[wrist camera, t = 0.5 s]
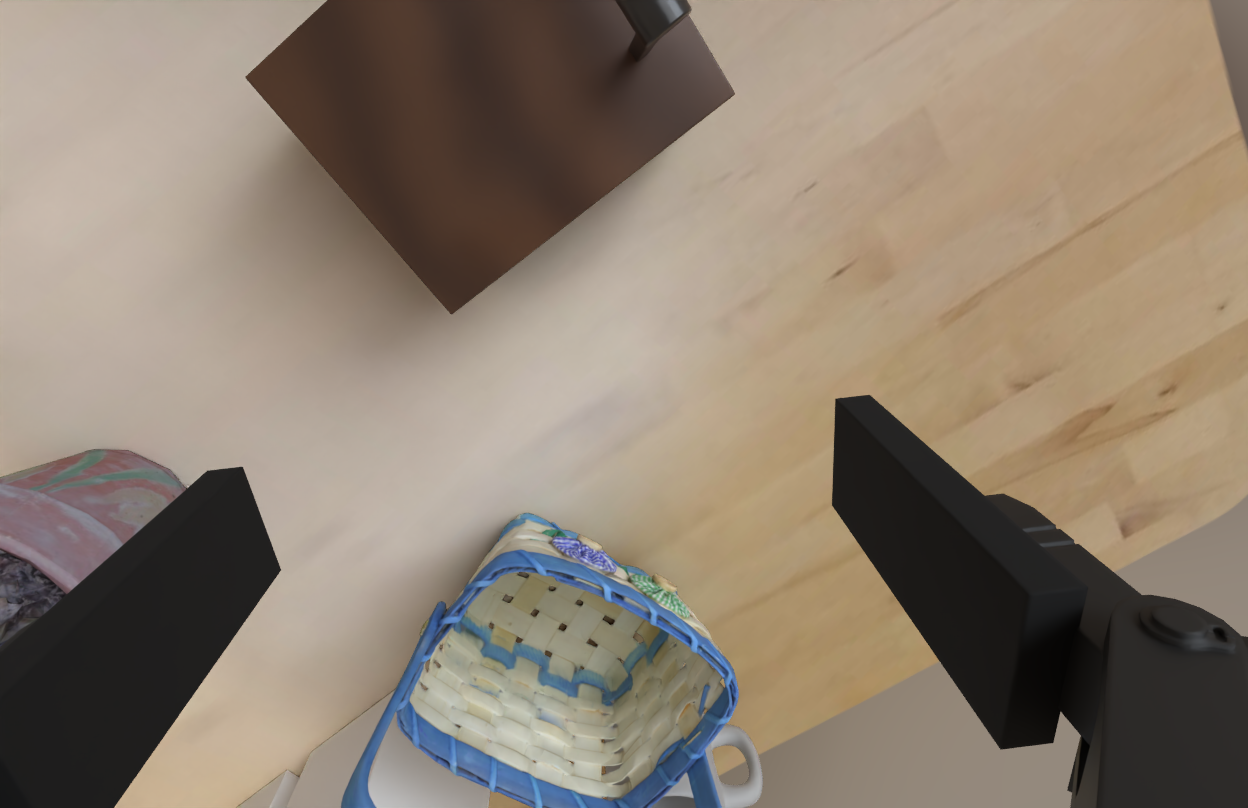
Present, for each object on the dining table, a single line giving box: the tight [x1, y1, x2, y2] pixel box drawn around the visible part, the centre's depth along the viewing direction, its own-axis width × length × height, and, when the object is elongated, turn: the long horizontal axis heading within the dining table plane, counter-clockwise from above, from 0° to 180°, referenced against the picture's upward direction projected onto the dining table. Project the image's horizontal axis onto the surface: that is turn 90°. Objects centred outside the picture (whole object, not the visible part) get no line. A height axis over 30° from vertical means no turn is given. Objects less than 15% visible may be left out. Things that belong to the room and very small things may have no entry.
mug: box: [603, 700, 763, 808], centre depth 50 cm, size 12×8×11 cm
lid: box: [246, 0, 735, 314], centre depth 24 cm, size 17×13×10 cm
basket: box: [341, 513, 738, 808], centre depth 38 cm, size 21×16×24 cm
